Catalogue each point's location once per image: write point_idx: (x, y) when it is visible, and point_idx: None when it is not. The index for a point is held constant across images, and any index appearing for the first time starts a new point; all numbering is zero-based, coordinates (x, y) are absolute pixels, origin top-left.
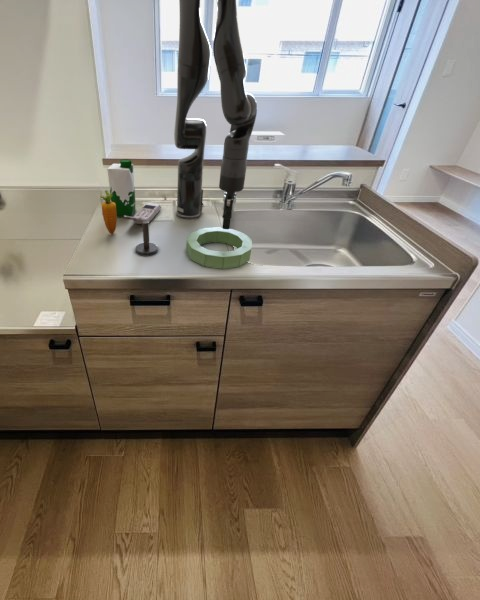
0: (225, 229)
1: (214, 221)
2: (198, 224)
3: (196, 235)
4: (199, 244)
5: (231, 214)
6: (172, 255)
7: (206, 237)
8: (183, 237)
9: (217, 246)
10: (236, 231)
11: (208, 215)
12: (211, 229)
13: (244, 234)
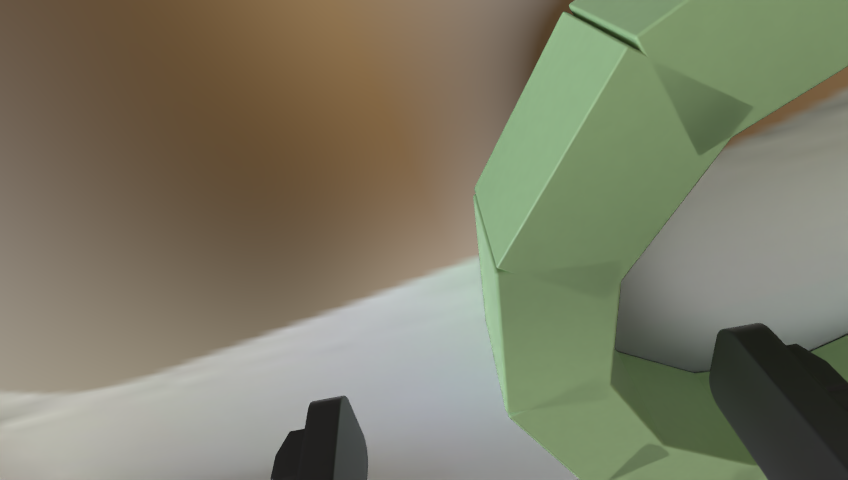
0: (541, 328)
1: (137, 414)
2: None
3: (756, 477)
4: (690, 380)
5: (333, 459)
6: None
7: (636, 391)
8: (558, 474)
9: (661, 256)
10: (563, 196)
11: (57, 475)
12: (588, 430)
13: (657, 47)
